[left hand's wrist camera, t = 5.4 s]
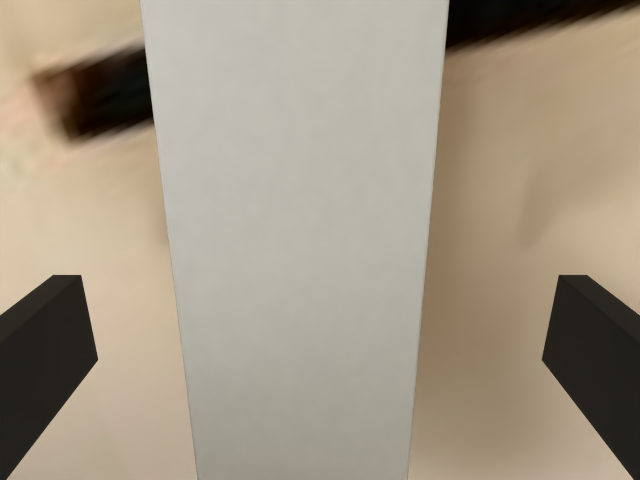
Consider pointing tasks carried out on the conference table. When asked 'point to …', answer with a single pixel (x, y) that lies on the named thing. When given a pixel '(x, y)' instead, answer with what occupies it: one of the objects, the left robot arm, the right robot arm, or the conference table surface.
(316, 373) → the bar
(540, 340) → the conference table surface
